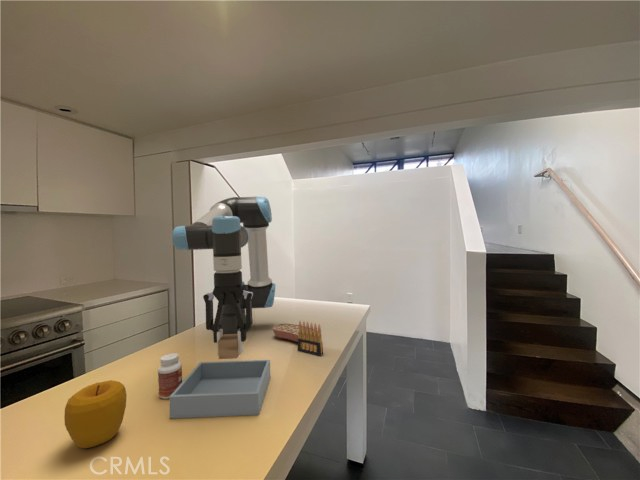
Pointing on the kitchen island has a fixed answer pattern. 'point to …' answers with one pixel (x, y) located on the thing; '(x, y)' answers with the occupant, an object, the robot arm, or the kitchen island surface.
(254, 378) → the tote
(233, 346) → the walnut cube
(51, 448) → the kitchen island surface
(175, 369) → the pill bottle
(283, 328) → the anatomical model
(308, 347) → the ammunition clip
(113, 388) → the apple
